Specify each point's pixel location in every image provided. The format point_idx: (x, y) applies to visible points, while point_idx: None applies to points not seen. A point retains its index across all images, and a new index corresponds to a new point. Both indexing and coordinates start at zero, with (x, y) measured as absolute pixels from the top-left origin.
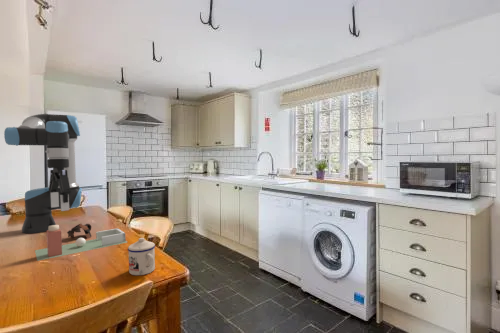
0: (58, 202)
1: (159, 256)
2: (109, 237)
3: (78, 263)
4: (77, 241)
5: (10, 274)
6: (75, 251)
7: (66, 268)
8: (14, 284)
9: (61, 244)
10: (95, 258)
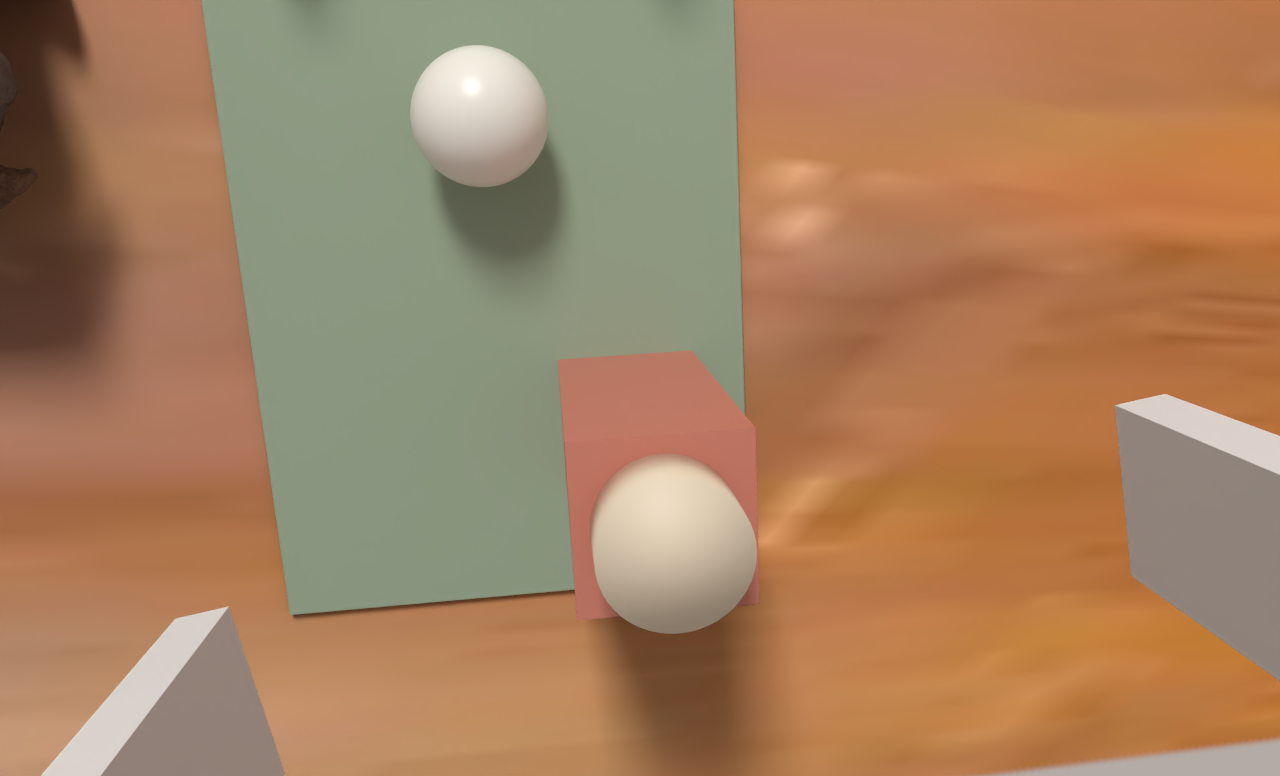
0: (181, 685)
1: None
2: None
3: (1122, 217)
4: (522, 163)
5: (974, 741)
6: (675, 205)
7: (1181, 332)
8: (1242, 690)
9: (712, 378)
10: (1095, 32)
